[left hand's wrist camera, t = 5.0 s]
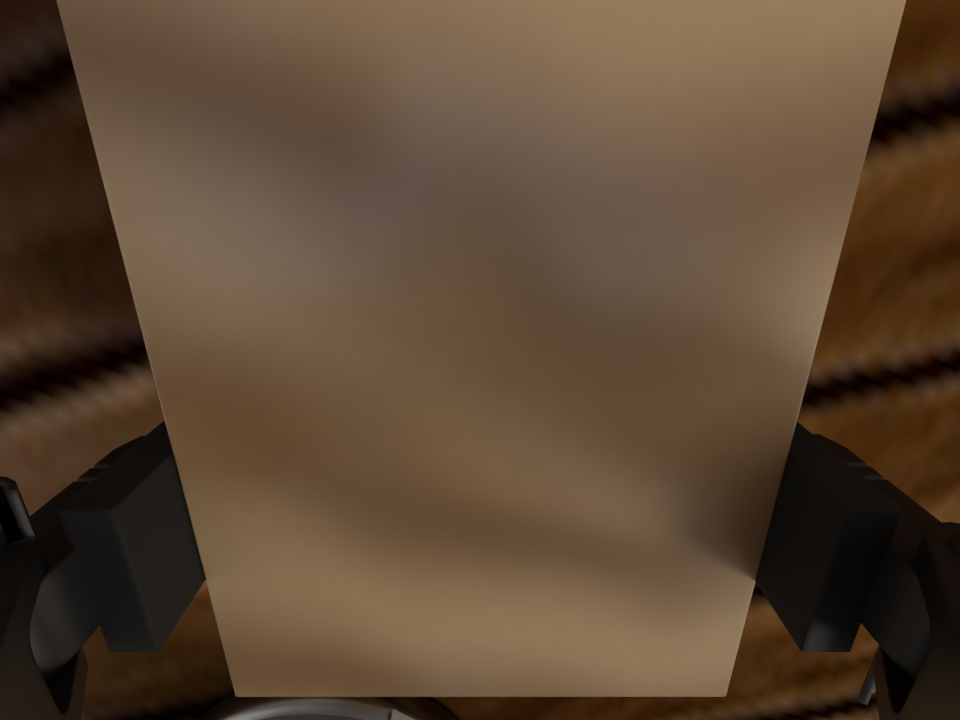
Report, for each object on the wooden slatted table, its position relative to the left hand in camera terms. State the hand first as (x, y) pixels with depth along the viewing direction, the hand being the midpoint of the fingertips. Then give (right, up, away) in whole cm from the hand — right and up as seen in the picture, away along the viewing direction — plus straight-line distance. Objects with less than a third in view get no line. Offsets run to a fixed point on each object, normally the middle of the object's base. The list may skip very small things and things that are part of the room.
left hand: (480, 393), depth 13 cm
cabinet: (0, +7, +2) cm, 8 cm away
